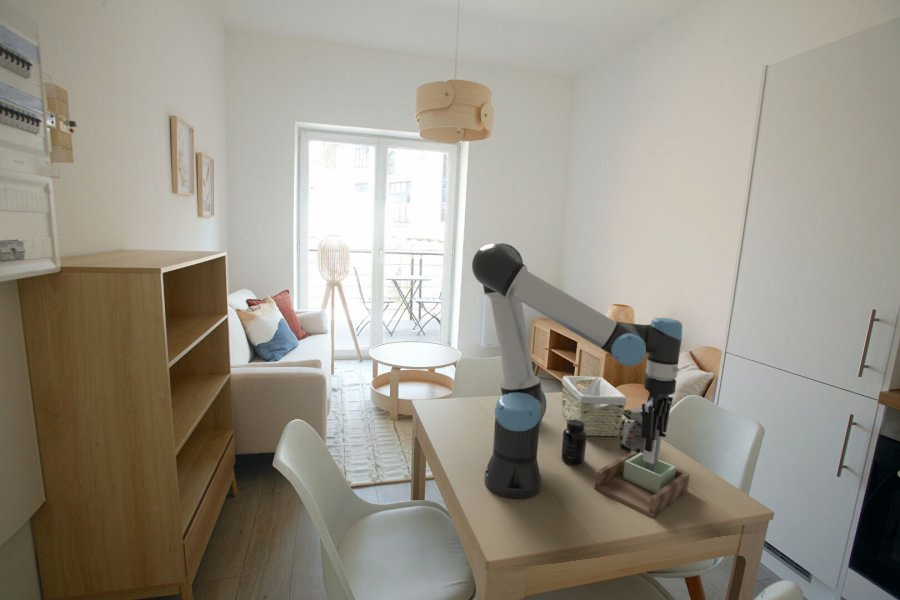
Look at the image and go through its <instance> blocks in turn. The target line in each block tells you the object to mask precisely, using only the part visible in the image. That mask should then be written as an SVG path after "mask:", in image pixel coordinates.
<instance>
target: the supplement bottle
mask: <svg viewBox="0 0 900 600" xmlns="http://www.w3.org/2000/svg"><path fill="white" fill-rule="evenodd" d="M566 423H567V424H566V428H564V430H563V431H562V443H561V460H562V462H564V463H566V464H568V465H572V466H579V465H582V464H584V462H585V460H586V459H585V457H586V447H587V435H586V433H585V432H584V431H583V430H584V423H583V422H582V421H579V420H574V419H573V420H567V422H566Z"/></svg>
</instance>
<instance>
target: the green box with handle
mask: <svg viewBox="0 0 900 600" xmlns="http://www.w3.org/2000/svg"><path fill="white" fill-rule="evenodd" d="M658 438H659V430H656V436H655V440H657V441H656V449H655V457H654V463H653V464H651V463H649V462H646V461H644V460H643V453H639V454H637V455H635V456H634V457H632V458H630V459H628V460H626V461H625V465H624V474H623V479H625V480H628V481H630V482H632V483H634V484H636V485H639V486H641V487H643V488H645V489H647V490H650V491H652V492H654V493H657V492H658V491H659V490H661V489H662V488H664V487H665V486H666V485H668V484H669V483H670V482H672V481H673V480H675V472H676V469H677V466H675V465H673V464H671V463H668V462H666V461H663V460H661V459H659V460H658V461H657V460H656V454H657V446H658Z"/></svg>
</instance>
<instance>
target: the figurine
mask: <svg viewBox="0 0 900 600" xmlns="http://www.w3.org/2000/svg"><path fill="white" fill-rule="evenodd" d="M642 414H643V411H642V407H640V408H631V409H626V410H624V412H623V417H624V419H622V420H621V426H620V428H619V429H620V430H621V434H620V436H619V441H620V445H619V447H620V448H621V449H623V450H624V449H625V450H626V449H629V450H630V451H629V453H631V452H632V451H634V452H637V453H644V445H645V438H642V437H641V432H642ZM626 420H628V421H626ZM620 430H619V431H620Z"/></svg>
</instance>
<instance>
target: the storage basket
mask: <svg viewBox="0 0 900 600" xmlns="http://www.w3.org/2000/svg"><path fill="white" fill-rule="evenodd" d="M561 384H562V391H561V392H562V394H561V396H562V397H561V399H562V400H561V402H562V403H561V412H562V414H563V416H564V417H565V418H566V420H567V421H568V420H573V419H574V420H579V421H582V422H583V423H584V430H583V431H584V432H585V433H586V436H593V437H594V436H599V437H605V436H606V437H618V436H619V433H620V429H619V428H620V426H621V422H622V420H623V417H624V413H623V412H624V411H625V406H627V397H626V396H625V395H624V393H622V392H621V391H619V390H618V389H617V388H616V387H614V386H613V385H612V384H611V383H609V382H608V381H607V380H606V379H605V378H603V377H602V376H585V375H584V376H583V375H581V376H580V375H564V376H563V377H562V380H561ZM578 384H579V385H588V386H586V387H585V386H584V387H583V388H578Z"/></svg>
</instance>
